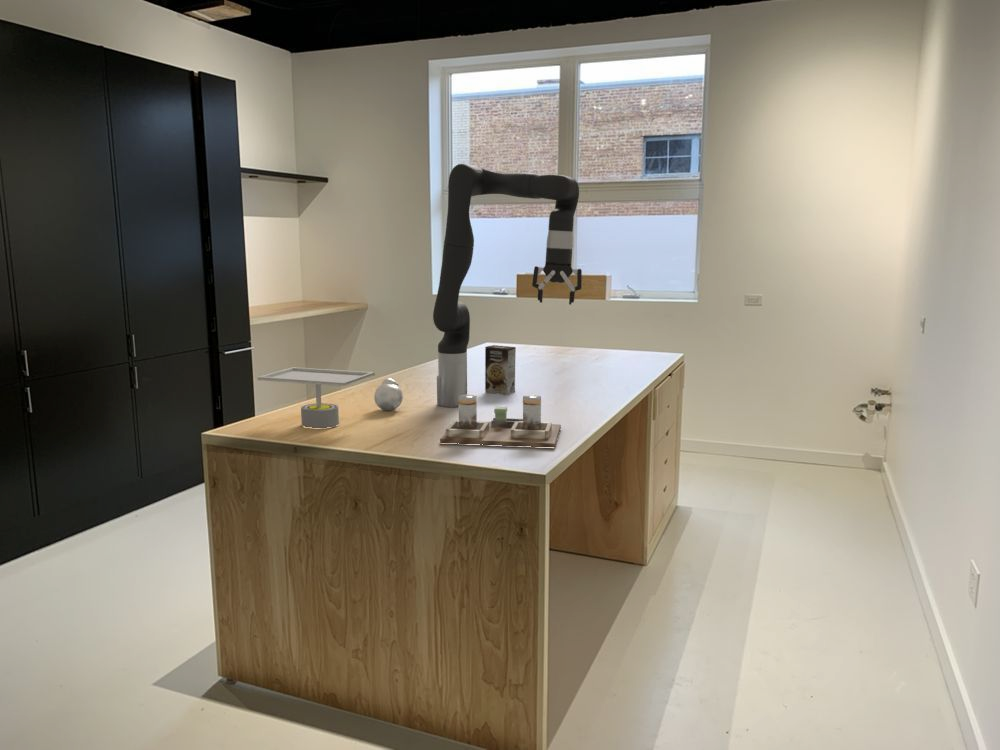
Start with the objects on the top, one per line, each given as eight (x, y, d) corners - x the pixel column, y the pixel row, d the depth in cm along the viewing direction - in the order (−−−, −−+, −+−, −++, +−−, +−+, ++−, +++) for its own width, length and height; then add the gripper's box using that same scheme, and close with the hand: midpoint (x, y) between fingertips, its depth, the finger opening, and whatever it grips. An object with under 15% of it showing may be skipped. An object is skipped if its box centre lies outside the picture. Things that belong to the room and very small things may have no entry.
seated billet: (457, 434, 199) (456, 398, 197) (460, 430, 204) (460, 394, 202) (475, 435, 199) (474, 398, 197) (478, 430, 203) (478, 394, 201)
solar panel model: (260, 428, 212) (257, 376, 209) (295, 415, 228) (293, 366, 225) (346, 437, 203) (344, 382, 200) (376, 422, 219) (375, 372, 216)
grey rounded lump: (410, 408, 236) (409, 377, 234) (391, 414, 228) (390, 382, 226) (387, 405, 241) (386, 375, 239) (368, 411, 233) (367, 380, 231)
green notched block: (494, 425, 208) (494, 408, 208) (496, 422, 212) (496, 406, 211) (505, 425, 208) (505, 409, 207) (507, 423, 211) (507, 406, 210)
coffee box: (484, 392, 261) (484, 346, 258) (493, 389, 267) (493, 344, 264) (507, 395, 257) (507, 348, 254) (516, 391, 263) (516, 346, 260)
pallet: (440, 444, 196) (439, 431, 195) (456, 425, 215) (456, 413, 214) (554, 449, 191) (554, 435, 190) (560, 429, 210) (560, 417, 210)
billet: (521, 435, 199) (521, 398, 197) (524, 430, 203) (524, 394, 202) (539, 435, 198) (540, 398, 196) (541, 431, 203) (541, 395, 201)
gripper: (534, 245, 212) (530, 302, 215) (584, 248, 211) (580, 305, 214) (535, 245, 220) (531, 301, 223) (584, 248, 219) (579, 304, 221)
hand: (555, 303), depth 218 cm, fingers open, 8 cm apart
